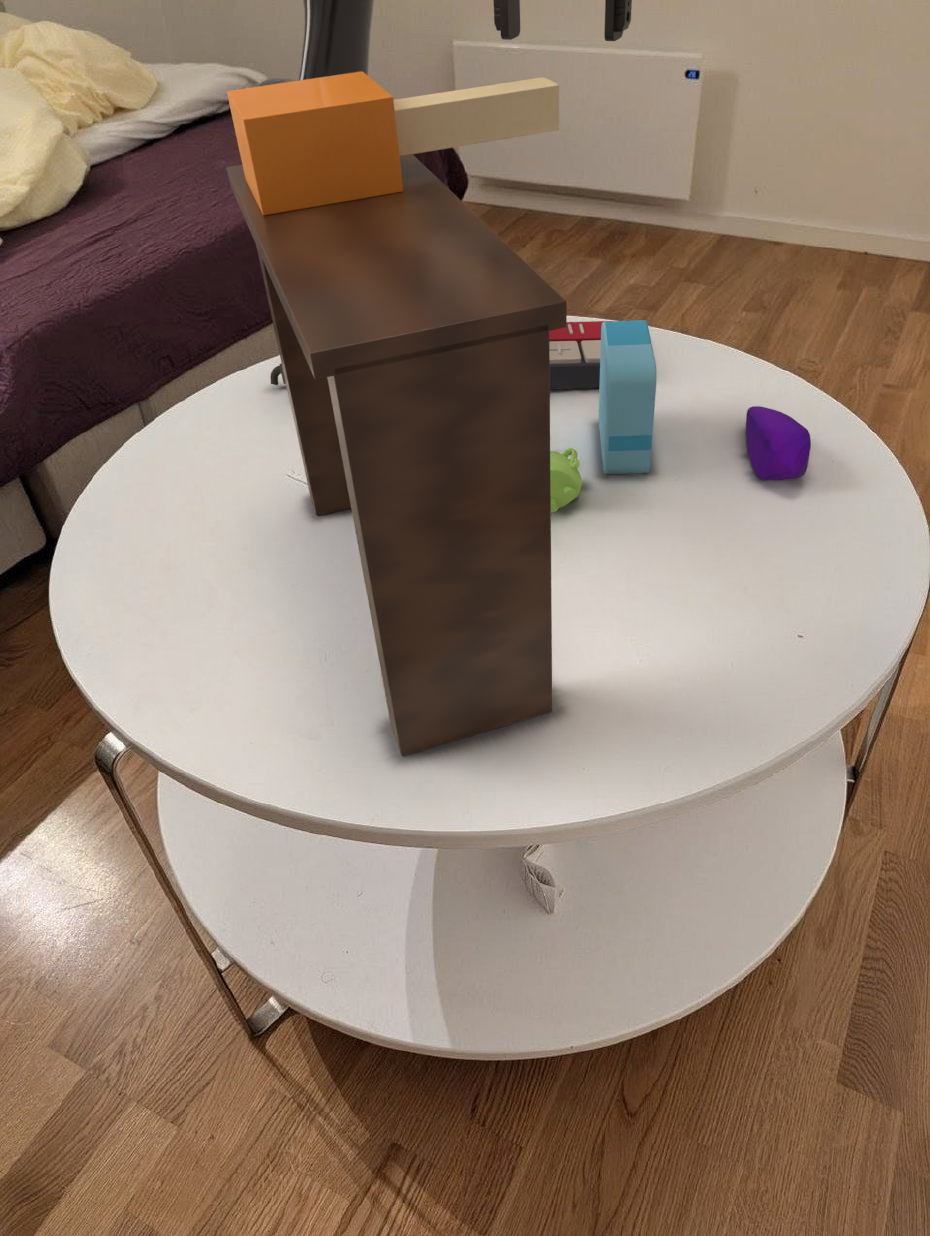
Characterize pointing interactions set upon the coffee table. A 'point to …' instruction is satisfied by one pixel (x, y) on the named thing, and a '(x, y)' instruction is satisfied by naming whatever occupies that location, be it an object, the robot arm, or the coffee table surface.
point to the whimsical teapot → (564, 478)
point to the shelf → (426, 438)
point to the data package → (626, 396)
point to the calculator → (575, 355)
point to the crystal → (776, 444)
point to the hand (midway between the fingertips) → (560, 38)
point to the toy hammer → (367, 133)
